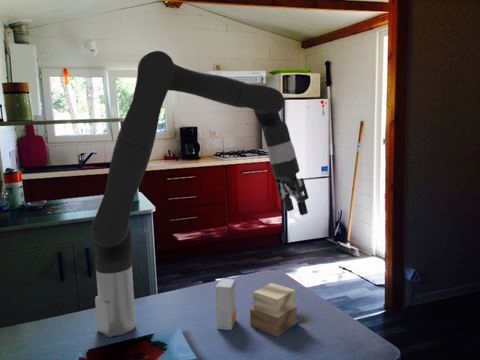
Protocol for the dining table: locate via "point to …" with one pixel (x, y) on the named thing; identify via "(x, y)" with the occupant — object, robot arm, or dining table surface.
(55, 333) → the dining table surface
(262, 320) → the walnut block
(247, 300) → the dining table surface
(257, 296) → the beech block
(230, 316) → the skincare box
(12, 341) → the dining table surface
